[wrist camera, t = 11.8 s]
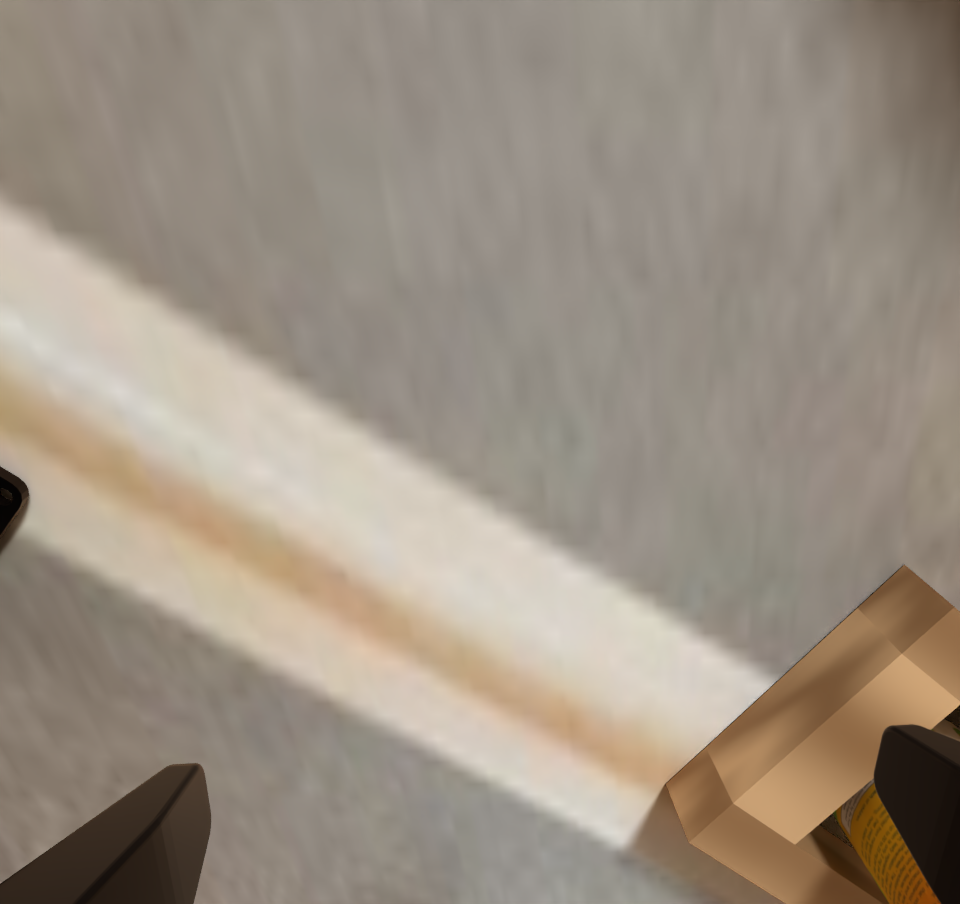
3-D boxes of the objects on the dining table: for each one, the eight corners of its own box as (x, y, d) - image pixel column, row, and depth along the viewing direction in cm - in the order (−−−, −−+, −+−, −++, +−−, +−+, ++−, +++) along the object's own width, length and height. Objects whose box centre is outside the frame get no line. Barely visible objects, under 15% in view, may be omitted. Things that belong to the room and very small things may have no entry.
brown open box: (894, 933, 31) (932, 996, 29) (665, 784, 28) (688, 842, 25) (1122, 755, 29) (1184, 808, 26) (904, 564, 25) (954, 607, 23)
